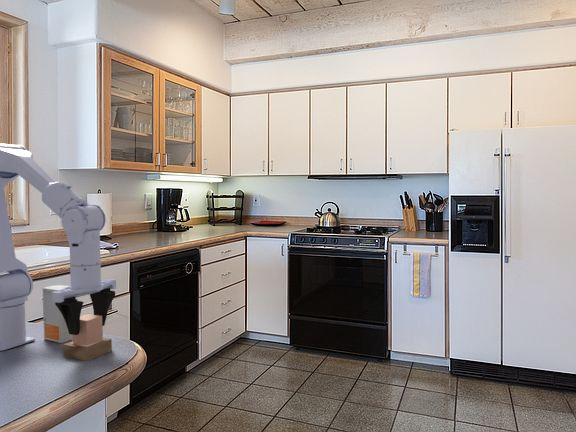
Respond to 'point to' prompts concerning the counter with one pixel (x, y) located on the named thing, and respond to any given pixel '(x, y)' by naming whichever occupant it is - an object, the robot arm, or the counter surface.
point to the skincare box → (54, 317)
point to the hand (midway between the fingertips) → (87, 329)
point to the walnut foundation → (87, 349)
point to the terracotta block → (89, 330)
